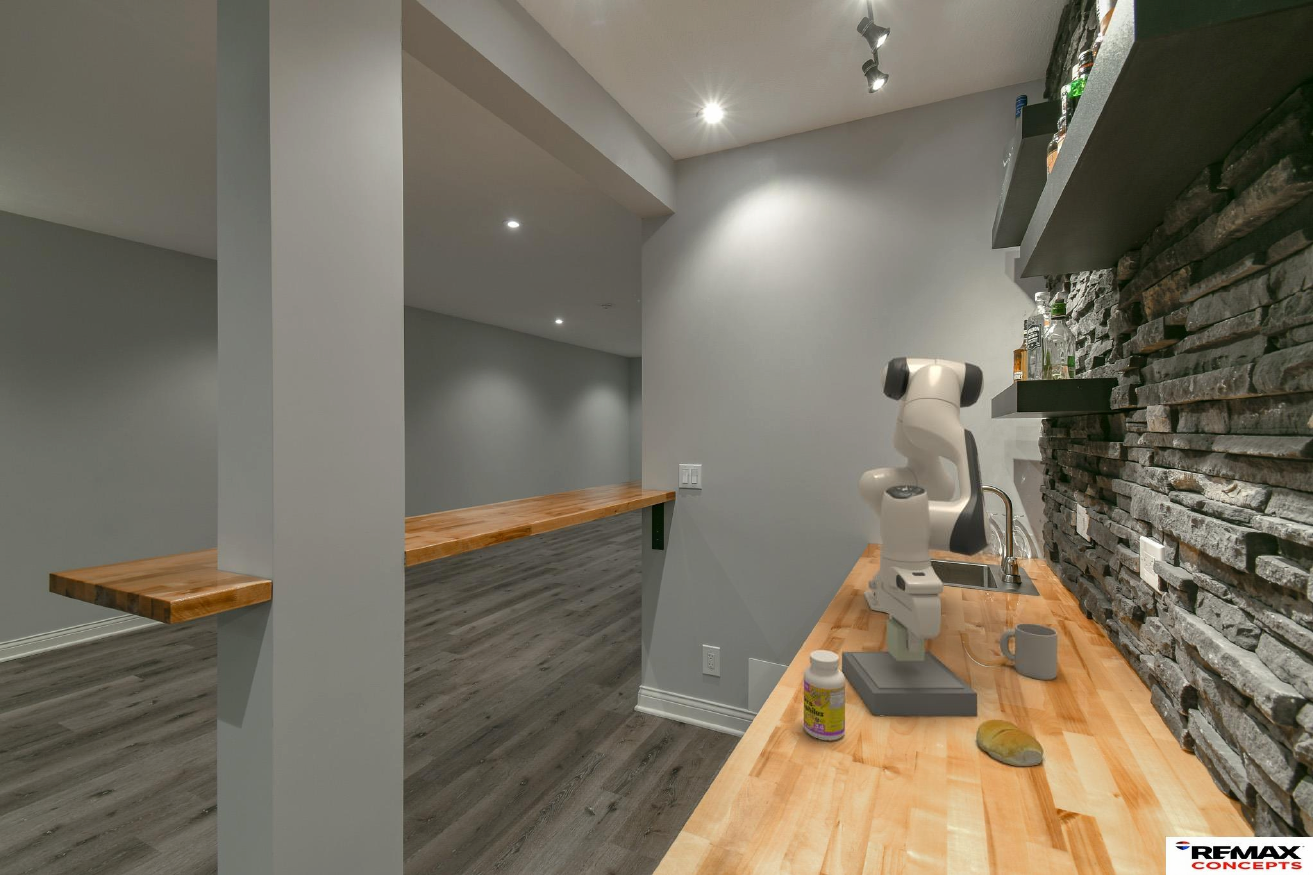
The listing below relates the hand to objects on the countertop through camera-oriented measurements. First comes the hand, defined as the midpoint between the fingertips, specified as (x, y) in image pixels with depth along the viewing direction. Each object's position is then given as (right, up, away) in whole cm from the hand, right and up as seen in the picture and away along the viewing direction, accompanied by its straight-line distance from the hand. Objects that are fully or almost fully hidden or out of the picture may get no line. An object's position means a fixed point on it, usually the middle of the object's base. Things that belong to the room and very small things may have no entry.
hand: (905, 644), depth 108 cm
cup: (+29, -9, +9) cm, 32 cm away
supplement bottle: (-19, -10, -13) cm, 25 cm away
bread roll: (+8, -10, -19) cm, 23 cm away
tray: (0, -9, 0) cm, 9 cm away
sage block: (0, -2, 0) cm, 2 cm away
